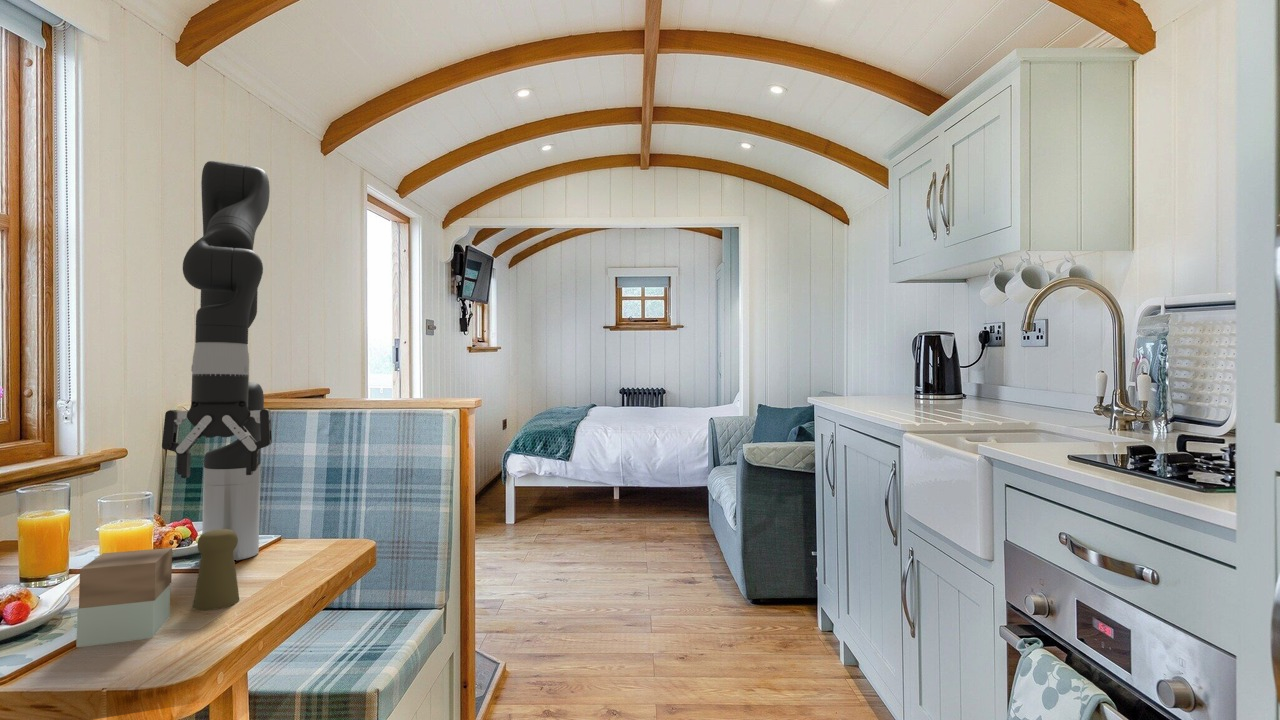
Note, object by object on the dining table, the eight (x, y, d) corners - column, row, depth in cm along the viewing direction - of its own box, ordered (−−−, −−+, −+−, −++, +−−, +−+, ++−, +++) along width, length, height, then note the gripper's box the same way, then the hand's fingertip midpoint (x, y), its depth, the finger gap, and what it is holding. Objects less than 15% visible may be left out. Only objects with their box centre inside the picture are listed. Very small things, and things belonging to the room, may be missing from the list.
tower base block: (100, 625, 90) (101, 589, 90) (169, 617, 93) (170, 582, 93) (76, 648, 82) (77, 608, 82) (152, 639, 85) (153, 600, 86)
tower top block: (102, 589, 90) (103, 553, 90) (171, 582, 93) (172, 547, 93) (78, 608, 83) (79, 569, 83) (154, 600, 86) (155, 562, 86)
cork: (216, 611, 95) (218, 536, 95) (182, 608, 96) (184, 534, 96) (249, 597, 101) (250, 527, 101) (216, 594, 102) (218, 525, 102)
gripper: (275, 373, 108) (273, 471, 107) (173, 372, 102) (170, 475, 102) (269, 372, 101) (266, 476, 100) (159, 371, 95) (155, 481, 95)
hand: (218, 476), depth 101 cm, fingers open, 8 cm apart
